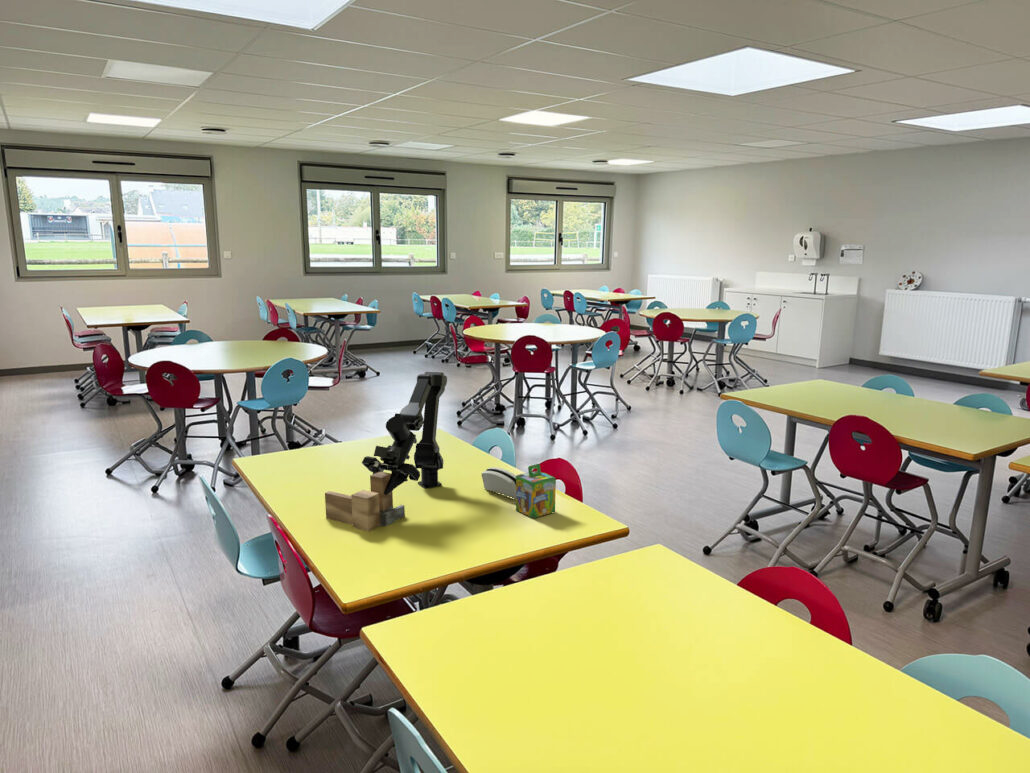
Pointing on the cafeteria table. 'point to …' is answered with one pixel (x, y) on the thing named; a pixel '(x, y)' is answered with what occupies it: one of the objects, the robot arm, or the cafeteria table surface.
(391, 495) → the wooden block
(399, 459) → the robot arm
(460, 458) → the cafeteria table surface
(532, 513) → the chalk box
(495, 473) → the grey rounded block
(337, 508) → the wooden fixture with frame
